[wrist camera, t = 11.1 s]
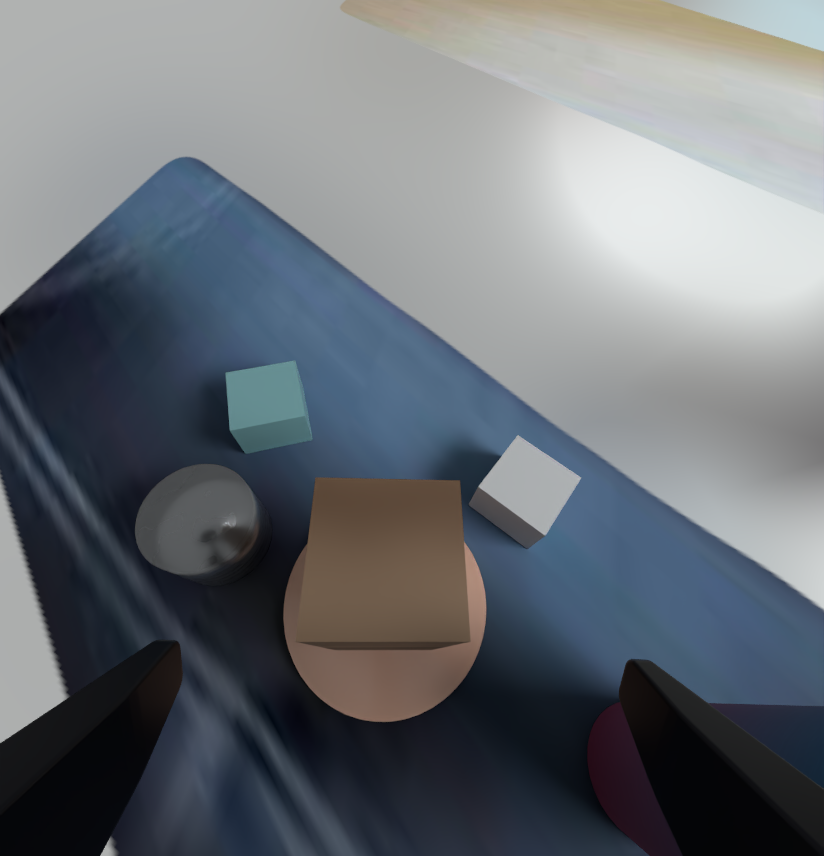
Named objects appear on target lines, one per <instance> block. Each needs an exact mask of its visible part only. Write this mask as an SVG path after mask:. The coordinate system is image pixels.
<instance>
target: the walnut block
mask: <svg viewBox="0 0 824 856" xmlns="http://www.w3.org/2000/svg"><path fill="white" fill-rule="evenodd" d="M295 642H299V643H303V644H308V645H313V646H318V647H322V648H327V649H332V650H434V649H439V648H444V647H448V646H453V645H458V644H462V643H467V642H471V640H470V625H469V610H468V595H467V579H466V564H465V549H464V534H463V518H462V503H461V488H460V481H459V480H410V479H362V478H316V479H315V487H314V495H313V503H312V511H311V519H310V528H309V536H308V544H307V552H306V560H305V568H304V576H303V584H302V592H301V601H300V609H299V617H298V625H297V633H296V641H295Z"/></svg>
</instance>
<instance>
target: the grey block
mask: <svg viewBox="0 0 824 856" xmlns="http://www.w3.org/2000/svg"><path fill="white" fill-rule="evenodd" d="M580 479H581V477H579V476H578V475H576V474H575V473H573V472H572V471H570V470H569V469H567V468H566V467H564V466H563V465H561V464H560V463H558V462H557V461H555V460H554V459H552V458H551V457H549V456H548V455H546V454H545V453H543V452H542V451H540V450H539V449H537V448H536V447H534V446H533V445H532V444H530V443H529V442H527V441H526V440H524V439H523V438H521V437H520V436H517V437H516V438H515V440H514V441H513V442H512V443H511V445H510V446H509V447H508V449H507V450H506V451H505V453H504V454H503V455H502V457H501V458H500V459H499V460H498V462H497V463H496V464H495V466H494V467H493V468H492V470H491V471H490V472H489V473H488V475H487V476H486V477H485V479H484V480H483V481H482V483H481V484H480V485H479V487H478V488H477V490H476V492H475V494H474V495H473V497H472V499H471V501H470V503H469V506H471V507H472V508H473V509H475V510H476V511H477V512H479V513H480V514H481V515H483V516H484V517H485V518H487V519H488V520H489V521H491V522H492V523H493V524H495V525H496V526H497V527H499V528H500V529H501V530H503V531H504V532H505V533H507V534H508V535H509V536H511V537H512V538H513V539H515V540H516V541H517V542H519V543H520V544H521V545H523V546H524V547H525V548H527V549H528V548H530V547H531V546H532V545H534V544H535V543H536V542H537V541H539V540H540V539H541V538H543V537H544V536H545V535H546V533H547V532H548V530H549V529H550V527H551V525H552V524H553V522H554V521H555V519H556V517H557V516H558V514H559V513H560V511H561V510H562V508H563V506H564V505H565V503H566V502H567V500H568V498H569V497H570V495H571V494H572V492H573V490H574V489H575V487H576V486H577V484H578V482H579V481H580Z"/></svg>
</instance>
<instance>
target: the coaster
mask: <svg viewBox="0 0 824 856" xmlns="http://www.w3.org/2000/svg"><path fill="white" fill-rule="evenodd" d="M464 549H465V564H466V579H467V595H468V610H469V625H470V640H471V642H467V643H462V644H458V645H453V646H448V647H444V648H439V649H434V650H332V649H327V648H322V647H318V646H313V645H308V644H303V643H299V642H295V641H296V633H297V625H298V617H299V609H300V601H301V592H302V584H303V576H304V568H305V560H306V552H307V545H306V546H305V548H304V549H303V551H302V552H301V554H300V556H299V557H298V559H297V561H296V563H295V565H294V567H293V570H292V572H291V575H290V577H289V581H288V585H287V588H286V593H285V600H284V617H283V620H284V630H285V637H286V641H287V645H288V649H289V652H290V655H291V657H292V660H293V663H294V665H295V666H296V668H297V670H298V672H299V674H300V676H301V677H302V678H303V680H304V681H305V682H306V684H307V685H308V687H309V688H310V689H311V690H312V691H313V692H314V693H315V694H316V695H317V696H318V697H319V698H320V699H321V700H323V701H324V702H325V703H327V704H328V705H329V706H331V707H332V708H334V709H336V710H338V711H340V712H342V713H344V714H345V715H348V716H351V717H354V718H357V719H360V720H367V721H373V722H392V721H398V720H404V719H407V718H411V717H414V716H417V715H419V714H421V713H423V712H425V711H427V710H429V709H431V708H433V707H434V706H436V705H437V704H439V703H440V702H442V701H443V700H444V699H446V698H447V697H448V696H449V695H450V694H451V693H452V692H453V691H454V690H455V689H456V688H457V687H458V685H459V684H460V683H461V682H462V680H463V679H464V678H465V677H466V675H467V673H468V672H469V670H470V668H471V667H472V665H473V663H474V661H475V659H476V656H477V654H478V652H479V649H480V646H481V642H482V639H483V635H484V629H485V623H486V597H485V590H484V585H483V580H482V577H481V574H480V571H479V568H478V565H477V563H476V561H475V559H474V557H473V555H472V553H471V551H470V550H469V548H468V547H467V545H466V544H465V542H464Z"/></svg>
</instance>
